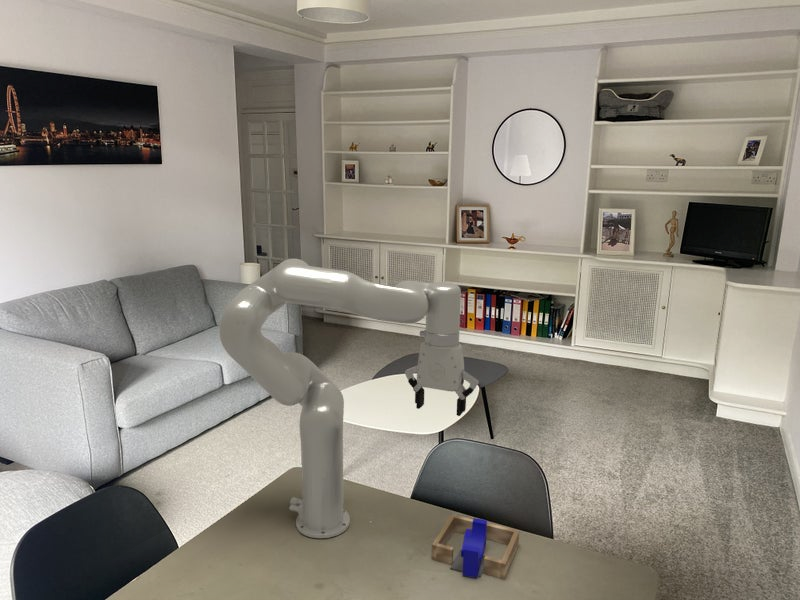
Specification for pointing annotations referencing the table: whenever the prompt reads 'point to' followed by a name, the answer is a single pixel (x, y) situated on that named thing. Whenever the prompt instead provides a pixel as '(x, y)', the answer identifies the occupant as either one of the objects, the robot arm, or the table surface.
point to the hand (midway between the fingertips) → (439, 410)
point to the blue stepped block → (474, 547)
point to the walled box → (487, 564)
